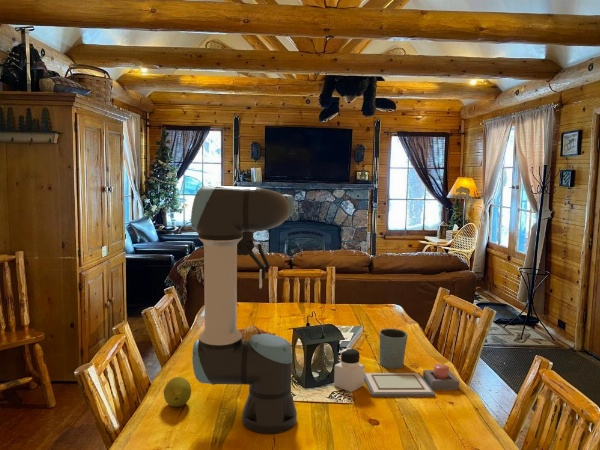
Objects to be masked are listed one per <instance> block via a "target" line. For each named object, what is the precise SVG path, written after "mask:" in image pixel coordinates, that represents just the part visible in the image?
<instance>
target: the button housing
mask: <svg viewBox="0 0 600 450" xmlns="http://www.w3.org/2000/svg"><path fill="white" fill-rule="evenodd" d="M433 374H434V369H423V371H422V377H423V378H424V380H425V381H426V382H427V383H428V385H429V386H430V387H431V389H432V390H433V391H460V380H459V379H458V378H457V377H456V376H455V375H454V374H453V372H451V370H449V375H448V379H435V378H434V377H433Z"/></svg>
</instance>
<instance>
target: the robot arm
mask: <svg viewBox="0 0 600 450" xmlns="http://www.w3.org/2000/svg"><path fill="white" fill-rule="evenodd" d="M294 208H295V198H294V196H293V195H292V194H286V193H285V194H283V193H280V192H278V191H274V190H271V189H269V188H267V189H266V188H263V187H259V186H258V187H255V186H250V187H249V186H229V185H228V186H223V185H208V186H201V187H200V188H199V189H198V190H197V191H196V194H195V195H194V199H193V202H192V207H191V215H190V224H191V225H190V226H191V229H192V230H193V231H195V232H197V238H198V239H199V241H200V242H202V244H203V250H204V251H203V253H204V254H203V255H204V256H203V257H204V258H203V262H204V263H203V264H204V266H203V267H204V269H203V271H204V275H203V276H204V277H203V278H204V283H203V284H204V289H203V290H204V292H203V293H204V330H202V331H201V332H200V334H199V335H198V339H196V340H195V341H194V342H193V345H192V356H191V359H192V362H191V363H192V369H193V373H194V374H193V375H194V377H195V379H196V380H197V381H198V382H199V383H201V384H210V385H213V386H215V385H235V386H237V385H240V386H241V385H242V386H243V385H246V386H248V395H247V398H246V400H245V404H244V407H243V409H242V416H241V417H242V418H241V420H242V424H243V426H244V427H245V428H247V429H248V430H250V431H253V432H255V433H258V434H266V435H267V434H269V435H271V434H272V435H273V434H279V433H283V432H286V431H289V430H291V429H292V428H293V427H294V426H295V425H296V424H297V420H298V416H297V415H298V414H297V413H298V412H297V409H296V405H295V402H294V398H293V394H292V362H293V360H294V359H293V350H292V345H291V343H290V342H289V341H288V340H287V339H286V338H284V337H282V336H278V335H276V334H275V335H271V334H272V333H271V334H260V335H259V334H256V335H253V336H252V337H251V338H250V340H249V341H242V333H241V332H240V331H239V329H238V328H237V327H238V326H237V323H238V322H237V318H238V317H237V312H238V311H237V305H238V302H237V301H238V300H237V298H238V295H237V293H238V288H237V285H238V256H250V258H252V260H253V261H254V263H256V264H257V266H258V267H259V268H260V269H259V276H258V277H259V278H258V279H259V282H258V284H259V285H258V287H259V289H262V287H263V280H265V278H266V271H267V270H269V269H271V264H270V262H269V260H268V259H267V256H266V254H265V252H264V249H263V244H262V242H259V243H255V242H254V232H262V231H267V230H270V229H273V228H277V227H279V226H280V225H282V224H283V223H284V222H286V220H287V219H288V218H289V217H293V216H294V211H295V209H294ZM254 248H255V249H256V250H258V253H259V256H260V258H261V259H262V261H263V263H262V261H261V260H260V259H259V257H257V255H256V254H255V252H254V251H253V250H254Z"/></svg>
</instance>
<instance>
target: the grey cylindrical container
mask: <svg viewBox="0 0 600 450" xmlns="http://www.w3.org/2000/svg"><path fill="white" fill-rule="evenodd" d="M407 341H408V333H407V332H406V331H405V330H401V329H397V328H383V329H380V330H379V364H380V366H382V367H383V368H387V369H390V370H392V369H393V370H398V369H401V368H403V367H404V364H405V354H406V346H407Z"/></svg>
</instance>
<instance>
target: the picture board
mask: <svg viewBox="0 0 600 450" xmlns="http://www.w3.org/2000/svg"><path fill="white" fill-rule="evenodd" d="M364 384H365V385H366V386H367V388H368V391H369V392H370V396H371V397H372V398H374V397H375V398H377V397H378V398H381V397H382V398H386V397H387V398H389V397H391V398H394V397H395V398H397V397H401V398H403V397H404V398H405V397H406V398H407V397H409V398H410V397H411V398H412V397H418V398H419V397H422V398H423V397H424V398H425V397H427V398H428V397H436V393H435V392H434V391H435V390H432V389H431V387H430V386H429V385H428V383H427V382H426V381H425V380H424V378H423V375H422V374H421V373H420V372H364Z"/></svg>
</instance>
